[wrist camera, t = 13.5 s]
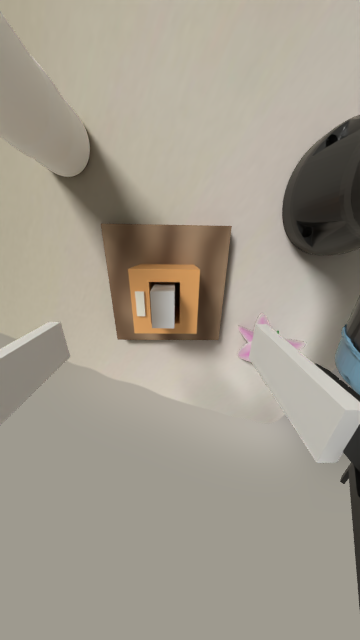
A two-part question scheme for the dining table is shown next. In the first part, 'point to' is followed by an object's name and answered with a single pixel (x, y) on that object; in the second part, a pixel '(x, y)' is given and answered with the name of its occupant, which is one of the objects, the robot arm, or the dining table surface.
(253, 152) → the dining table surface
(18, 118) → the water bottle
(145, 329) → the orange slotted box
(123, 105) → the dining table surface
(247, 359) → the lily
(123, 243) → the board
